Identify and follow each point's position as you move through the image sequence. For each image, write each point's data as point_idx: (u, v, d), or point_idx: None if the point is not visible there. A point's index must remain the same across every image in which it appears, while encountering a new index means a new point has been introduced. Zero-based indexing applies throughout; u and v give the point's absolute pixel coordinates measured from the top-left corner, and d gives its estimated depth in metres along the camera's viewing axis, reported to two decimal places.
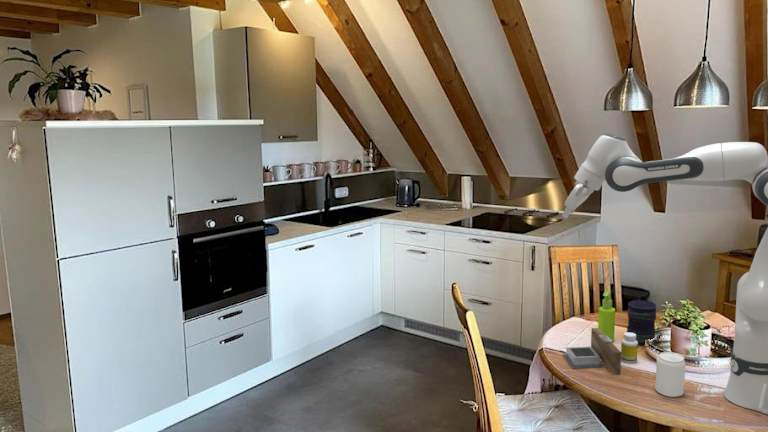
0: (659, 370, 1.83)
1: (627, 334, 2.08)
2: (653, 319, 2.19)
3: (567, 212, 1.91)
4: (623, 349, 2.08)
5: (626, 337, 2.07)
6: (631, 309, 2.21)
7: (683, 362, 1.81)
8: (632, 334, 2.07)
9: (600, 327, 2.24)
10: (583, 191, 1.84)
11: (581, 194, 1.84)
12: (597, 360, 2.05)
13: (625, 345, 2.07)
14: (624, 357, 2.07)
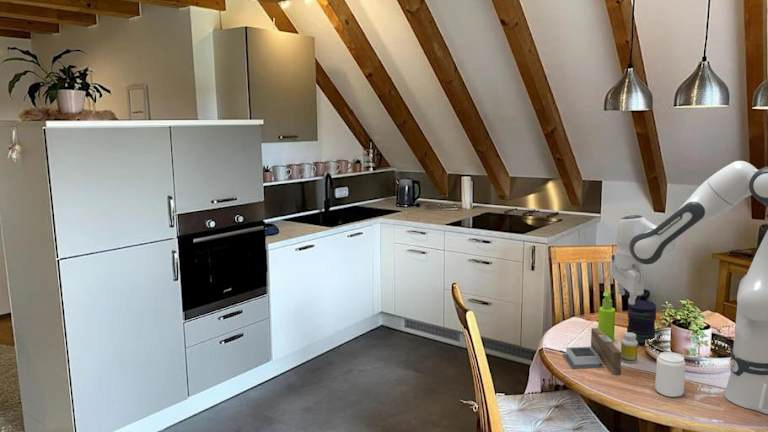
0: (659, 370, 1.83)
1: (627, 334, 2.08)
2: (653, 319, 2.19)
3: (633, 298, 2.00)
4: (623, 349, 2.08)
5: (626, 337, 2.07)
6: (631, 309, 2.21)
7: (683, 362, 1.81)
8: (632, 334, 2.07)
9: (600, 327, 2.24)
10: (642, 275, 1.95)
11: (642, 279, 1.94)
12: (597, 360, 2.05)
13: (625, 345, 2.07)
14: (624, 357, 2.07)
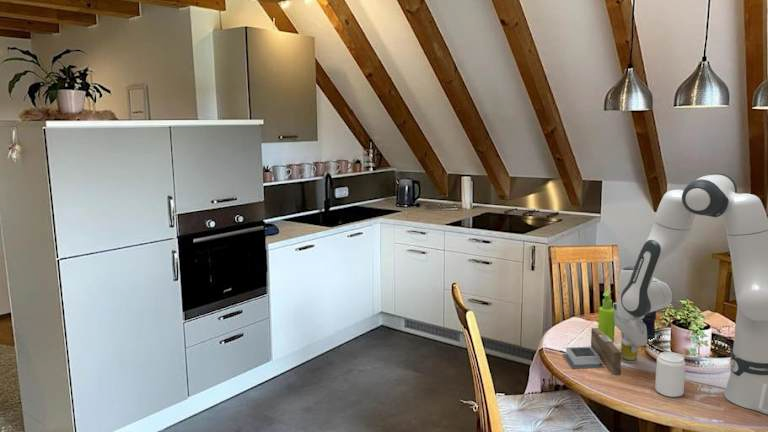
0: (659, 370, 1.83)
1: None
2: (653, 319, 2.19)
3: (635, 347, 2.04)
4: (623, 349, 2.08)
5: (626, 337, 2.07)
6: None
7: (683, 362, 1.81)
8: None
9: (600, 327, 2.24)
10: (645, 326, 1.98)
11: (645, 330, 1.97)
12: (597, 360, 2.05)
13: (625, 345, 2.07)
14: (624, 357, 2.07)
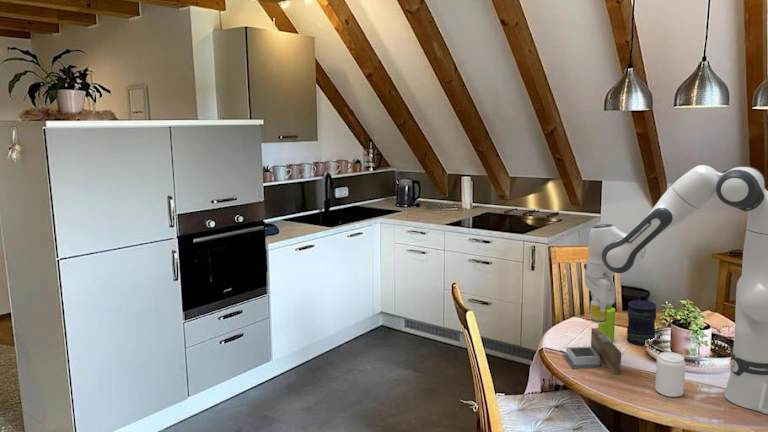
0: (659, 370, 1.83)
1: None
2: (653, 319, 2.19)
3: (603, 306, 2.01)
4: (592, 310, 2.05)
5: (595, 297, 2.04)
6: (631, 309, 2.21)
7: (683, 362, 1.81)
8: None
9: (600, 327, 2.24)
10: (613, 284, 1.95)
11: (613, 287, 1.95)
12: (597, 360, 2.05)
13: (594, 305, 2.04)
14: (593, 318, 2.05)
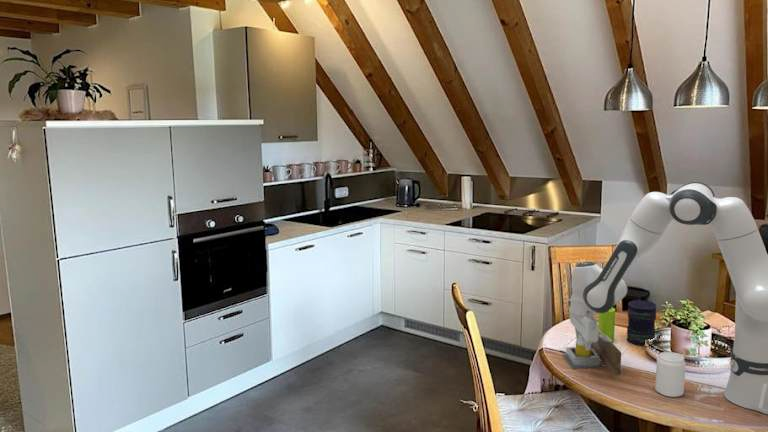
0: (659, 370, 1.83)
1: None
2: (653, 319, 2.19)
3: (588, 344, 2.03)
4: (577, 349, 2.08)
5: (580, 337, 2.07)
6: (631, 309, 2.21)
7: (683, 362, 1.81)
8: None
9: (600, 327, 2.24)
10: (596, 322, 1.97)
11: (596, 326, 1.97)
12: (597, 360, 2.05)
13: (579, 345, 2.07)
14: None
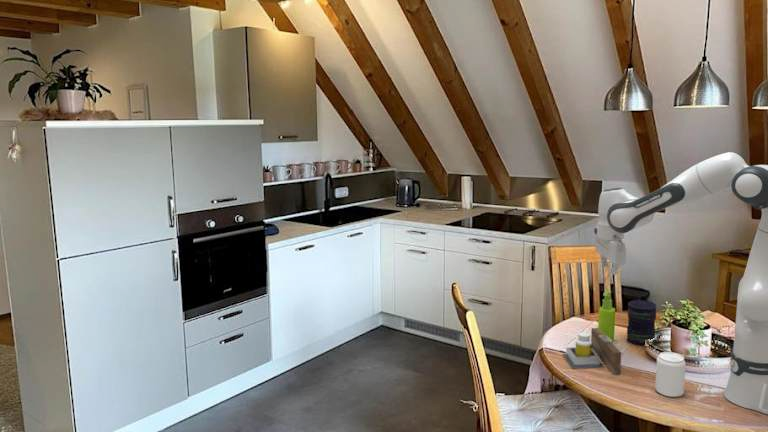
0: (659, 370, 1.83)
1: (581, 334, 2.07)
2: (653, 319, 2.19)
3: (616, 268, 2.05)
4: (577, 349, 2.08)
5: (580, 337, 2.07)
6: (631, 309, 2.21)
7: (683, 362, 1.81)
8: (586, 334, 2.07)
9: (600, 327, 2.24)
10: (623, 245, 2.01)
11: (624, 248, 2.00)
12: (597, 360, 2.05)
13: (579, 345, 2.07)
14: None
